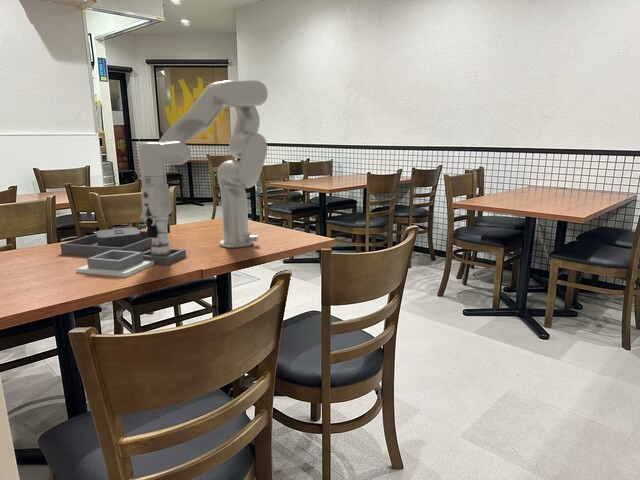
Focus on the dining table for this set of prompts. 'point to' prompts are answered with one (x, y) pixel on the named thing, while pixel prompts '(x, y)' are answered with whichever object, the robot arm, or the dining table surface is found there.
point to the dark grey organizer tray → (91, 247)
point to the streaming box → (118, 237)
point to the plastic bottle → (161, 238)
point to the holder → (160, 260)
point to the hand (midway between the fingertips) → (159, 234)
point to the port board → (116, 263)
